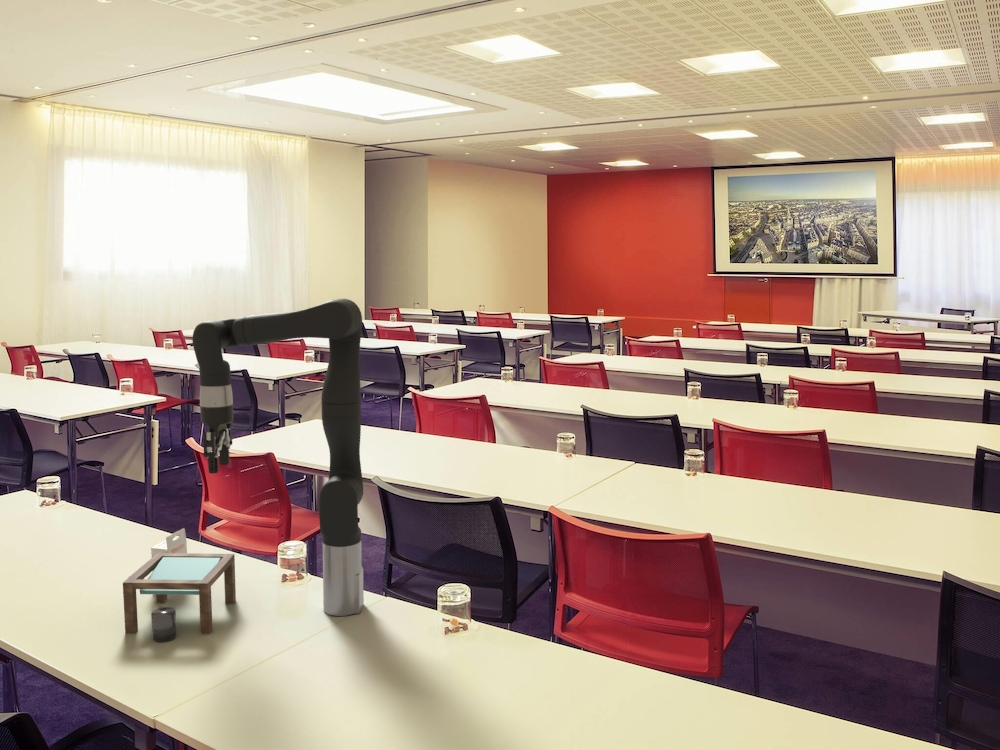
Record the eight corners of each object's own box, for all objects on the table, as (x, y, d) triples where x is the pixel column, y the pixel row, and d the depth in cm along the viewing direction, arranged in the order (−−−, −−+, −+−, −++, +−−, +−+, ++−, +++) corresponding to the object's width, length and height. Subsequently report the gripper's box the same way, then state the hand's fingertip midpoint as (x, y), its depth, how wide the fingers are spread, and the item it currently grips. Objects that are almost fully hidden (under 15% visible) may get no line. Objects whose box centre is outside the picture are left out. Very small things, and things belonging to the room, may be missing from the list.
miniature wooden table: (235, 600, 204) (234, 553, 202) (209, 634, 185) (207, 583, 183) (159, 599, 204) (157, 553, 202) (125, 633, 185) (122, 582, 183)
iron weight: (170, 616, 180) (171, 642, 181) (178, 607, 185) (179, 632, 186) (147, 616, 180) (148, 642, 181) (156, 607, 185) (157, 632, 186)
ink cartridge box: (171, 579, 217) (169, 525, 215) (188, 581, 216) (186, 527, 214) (152, 591, 208) (149, 536, 207) (169, 593, 208) (167, 537, 206)
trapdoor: (221, 561, 200) (220, 557, 200) (201, 594, 187) (201, 591, 186) (163, 560, 200) (163, 557, 199) (140, 594, 187) (139, 590, 186)
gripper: (223, 408, 191) (226, 476, 193) (240, 398, 205) (243, 461, 207) (190, 408, 190) (193, 476, 192) (210, 398, 204) (213, 461, 207)
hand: (219, 468), depth 200 cm, fingers open, 8 cm apart
